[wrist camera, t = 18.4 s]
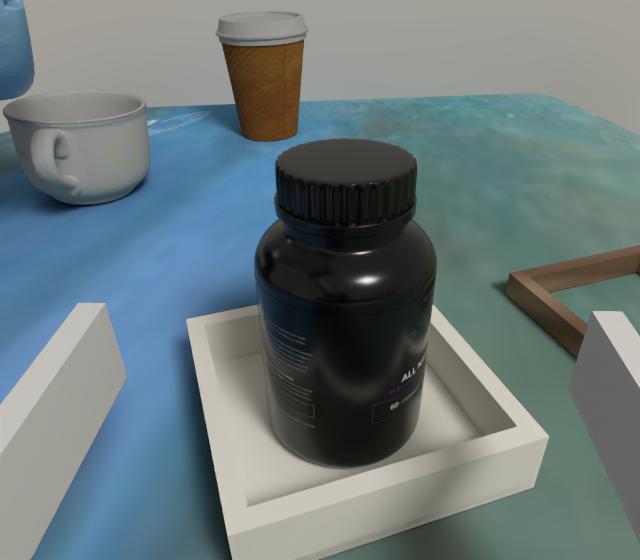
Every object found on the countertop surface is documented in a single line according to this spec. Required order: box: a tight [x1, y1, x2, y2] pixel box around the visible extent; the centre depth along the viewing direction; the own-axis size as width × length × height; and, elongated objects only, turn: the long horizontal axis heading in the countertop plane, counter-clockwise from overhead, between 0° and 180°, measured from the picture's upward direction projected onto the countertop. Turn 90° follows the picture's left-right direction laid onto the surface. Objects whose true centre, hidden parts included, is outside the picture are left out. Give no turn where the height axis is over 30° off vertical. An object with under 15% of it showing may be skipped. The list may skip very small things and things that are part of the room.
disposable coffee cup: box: [216, 11, 308, 141], centre depth 58 cm, size 10×10×12 cm
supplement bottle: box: [254, 138, 437, 468], centre depth 21 cm, size 7×7×12 cm
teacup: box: [3, 90, 150, 205], centre depth 44 cm, size 14×11×8 cm
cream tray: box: [186, 305, 549, 560], centre depth 24 cm, size 12×12×3 cm
